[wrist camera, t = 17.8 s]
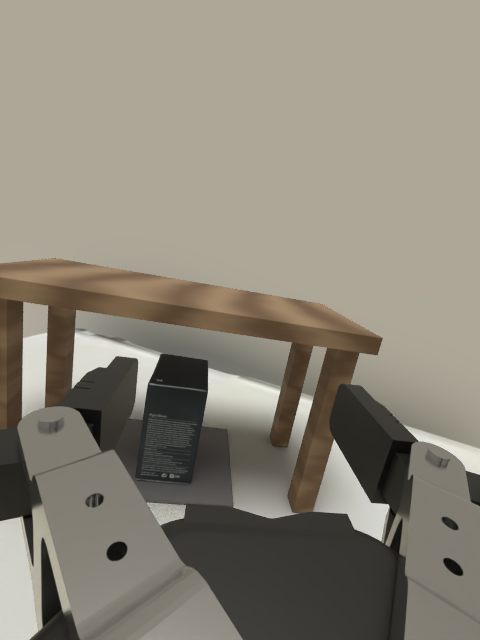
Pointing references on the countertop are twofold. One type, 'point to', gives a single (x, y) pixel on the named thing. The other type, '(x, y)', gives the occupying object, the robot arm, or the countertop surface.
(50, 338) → the low shelf
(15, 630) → the countertop surface
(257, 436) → the countertop surface
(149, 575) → the robot arm
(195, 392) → the box
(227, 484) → the charcoal mat
